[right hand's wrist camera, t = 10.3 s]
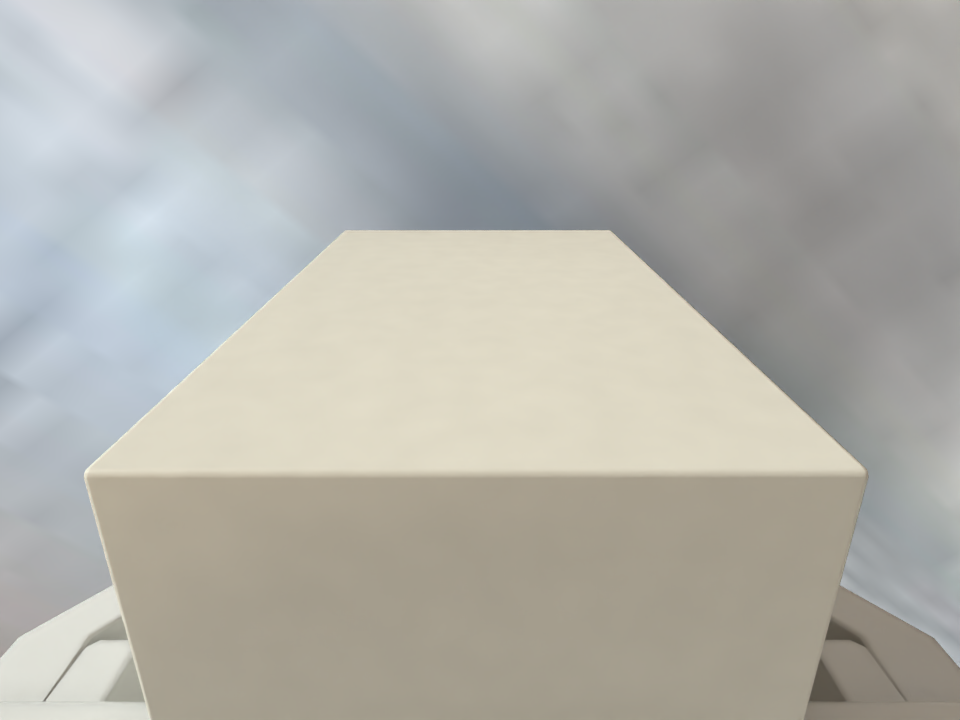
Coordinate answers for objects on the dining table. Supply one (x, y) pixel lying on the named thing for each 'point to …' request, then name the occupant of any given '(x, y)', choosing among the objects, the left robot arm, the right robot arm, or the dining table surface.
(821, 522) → the bar
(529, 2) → the dining table surface
